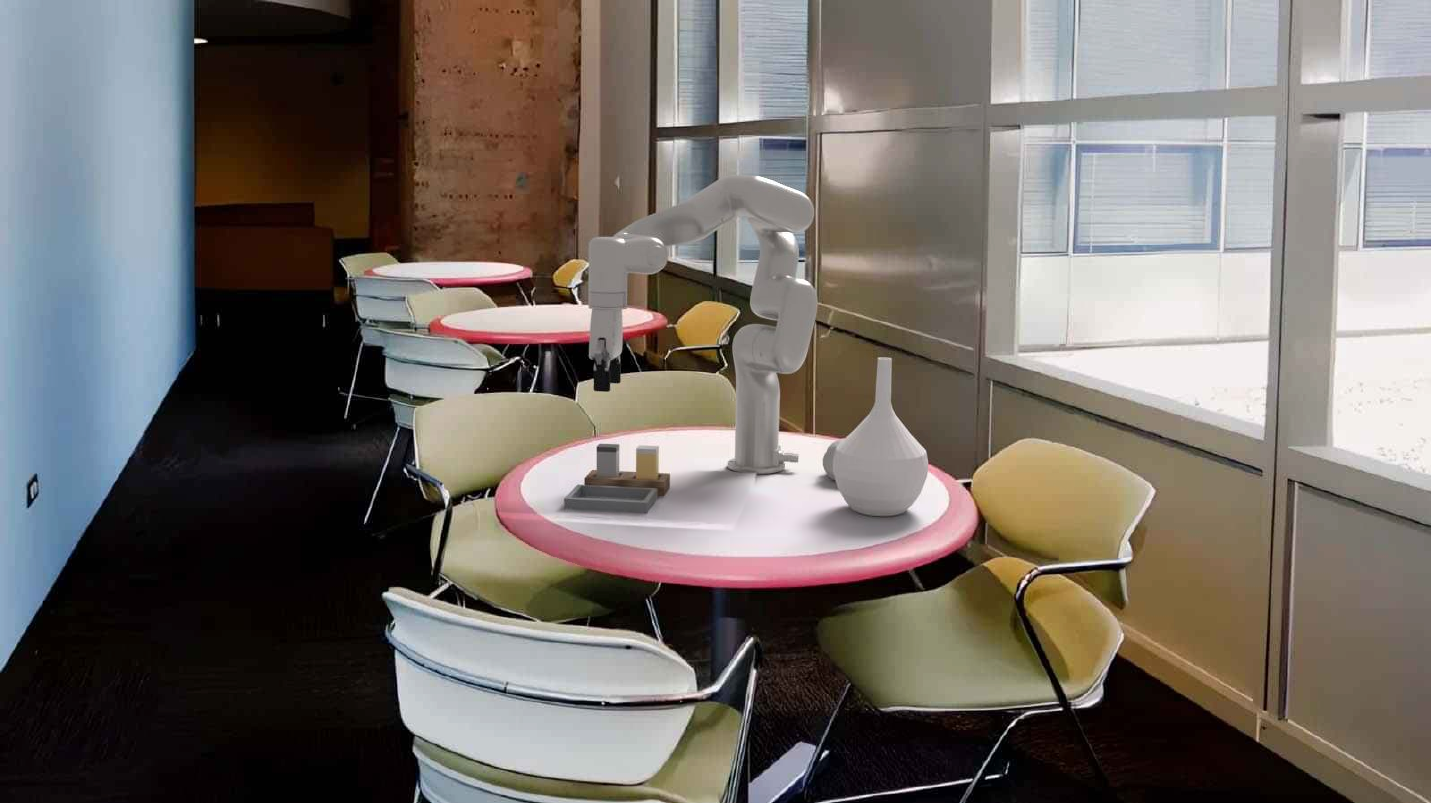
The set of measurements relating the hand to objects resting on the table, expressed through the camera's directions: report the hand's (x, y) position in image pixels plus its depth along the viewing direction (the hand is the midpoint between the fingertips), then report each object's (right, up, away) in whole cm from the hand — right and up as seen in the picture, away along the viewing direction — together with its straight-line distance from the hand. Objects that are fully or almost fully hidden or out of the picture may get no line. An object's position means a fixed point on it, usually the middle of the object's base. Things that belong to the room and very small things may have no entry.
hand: (607, 387), depth 260 cm
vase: (+53, -24, -4) cm, 58 cm away
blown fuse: (0, -21, +4) cm, 21 cm away
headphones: (+54, -20, +20) cm, 61 cm away
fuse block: (+4, -22, +4) cm, 22 cm away
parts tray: (+1, -24, -7) cm, 24 cm away
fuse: (+8, -21, +3) cm, 22 cm away
